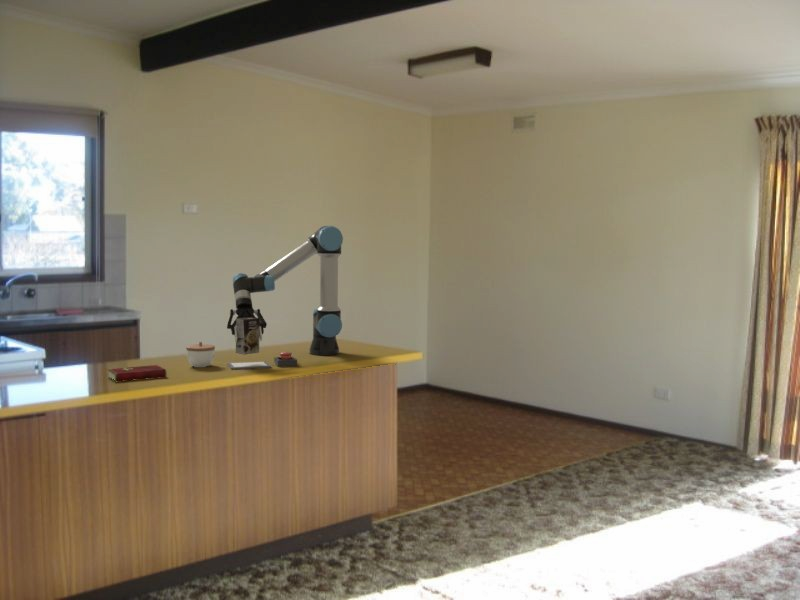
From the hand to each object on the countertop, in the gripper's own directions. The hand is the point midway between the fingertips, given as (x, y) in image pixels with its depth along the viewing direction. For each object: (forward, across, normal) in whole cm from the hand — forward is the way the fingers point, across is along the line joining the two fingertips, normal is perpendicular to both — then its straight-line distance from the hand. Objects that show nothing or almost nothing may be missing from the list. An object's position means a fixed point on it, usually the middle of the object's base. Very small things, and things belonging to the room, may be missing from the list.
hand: (248, 339), depth 360 cm
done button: (+5, -18, -9) cm, 20 cm away
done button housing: (+7, -18, -11) cm, 22 cm away
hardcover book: (+18, +49, -2) cm, 52 cm away
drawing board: (+7, -1, -11) cm, 13 cm away
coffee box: (+3, 0, -7) cm, 7 cm away
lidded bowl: (+3, +20, -16) cm, 26 cm away
